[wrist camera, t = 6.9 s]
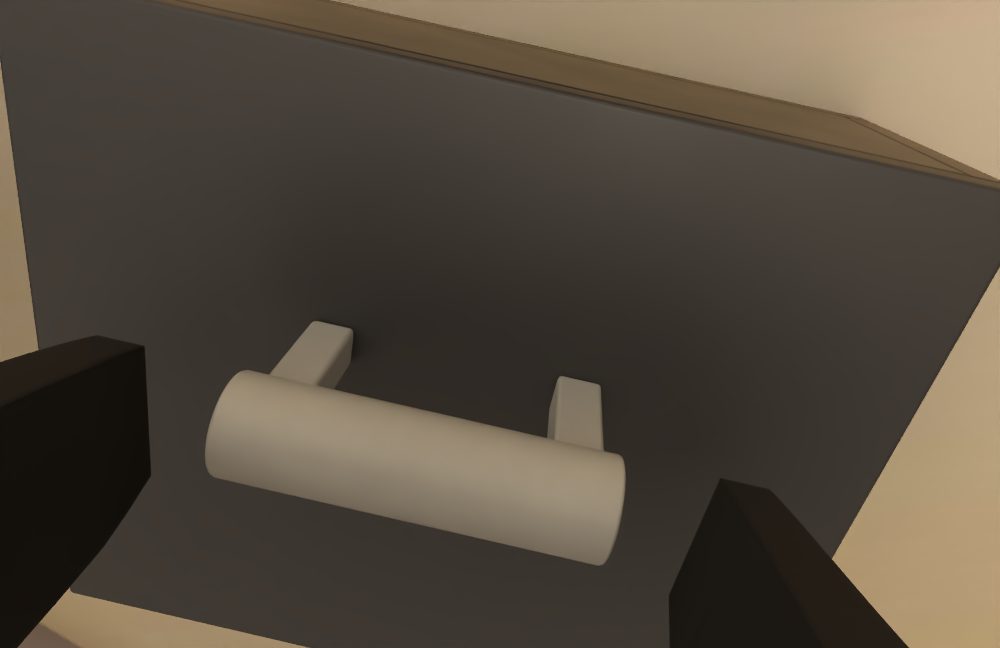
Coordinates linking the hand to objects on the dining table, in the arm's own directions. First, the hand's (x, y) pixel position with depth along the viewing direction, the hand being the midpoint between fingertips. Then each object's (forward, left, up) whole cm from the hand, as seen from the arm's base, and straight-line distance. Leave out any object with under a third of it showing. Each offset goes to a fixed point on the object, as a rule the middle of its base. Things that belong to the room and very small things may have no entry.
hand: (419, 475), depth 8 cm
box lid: (0, -2, -3) cm, 4 cm away
